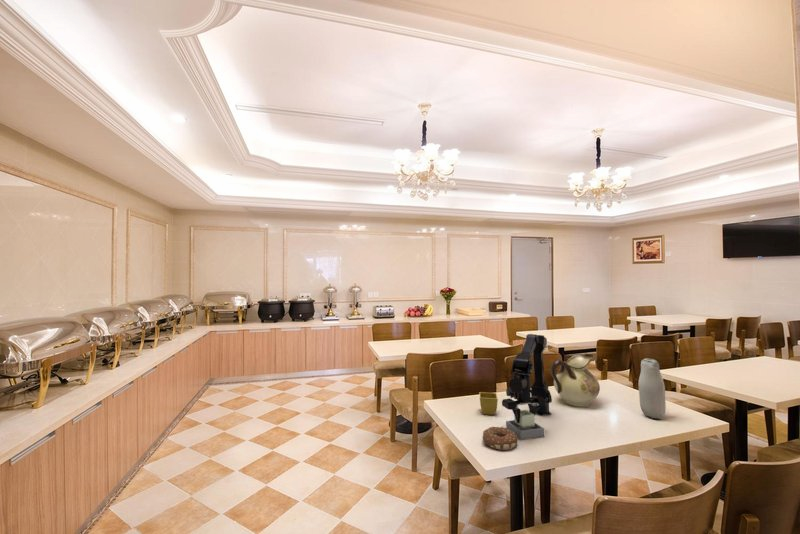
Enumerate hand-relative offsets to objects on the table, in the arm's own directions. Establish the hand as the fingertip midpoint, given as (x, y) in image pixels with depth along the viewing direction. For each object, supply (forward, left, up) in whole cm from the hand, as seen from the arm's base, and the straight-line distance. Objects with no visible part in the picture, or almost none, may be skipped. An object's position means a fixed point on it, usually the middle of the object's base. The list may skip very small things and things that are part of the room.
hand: (524, 422), depth 150 cm
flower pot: (+4, -25, -5) cm, 26 cm away
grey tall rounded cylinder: (-70, +1, -5) cm, 70 cm away
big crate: (0, 0, -5) cm, 5 cm away
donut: (+16, +6, -5) cm, 18 cm away
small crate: (0, 0, -1) cm, 1 cm away
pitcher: (-49, -25, -5) cm, 55 cm away
